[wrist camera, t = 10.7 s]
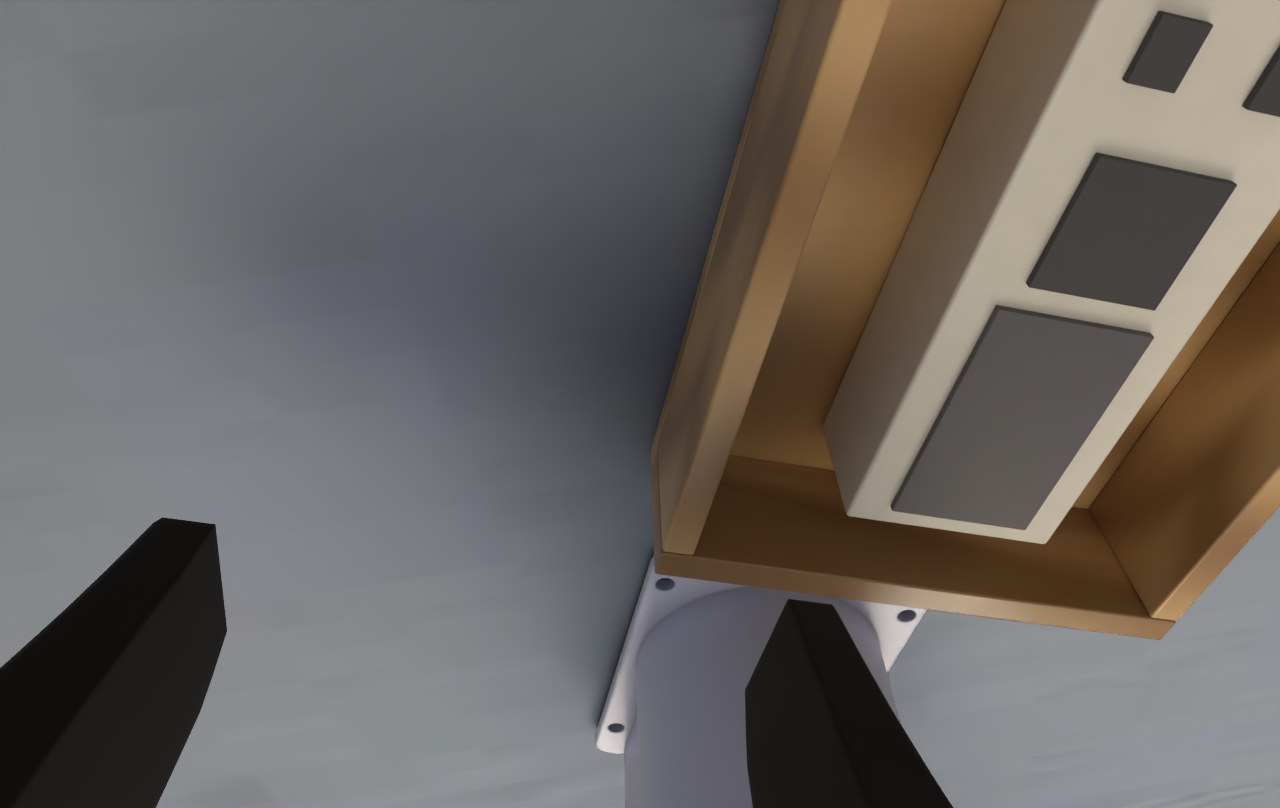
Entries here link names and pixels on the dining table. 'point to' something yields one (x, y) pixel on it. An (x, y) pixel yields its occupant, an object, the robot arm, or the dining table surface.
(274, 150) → the dining table surface
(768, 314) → the tidy box
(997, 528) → the remote
